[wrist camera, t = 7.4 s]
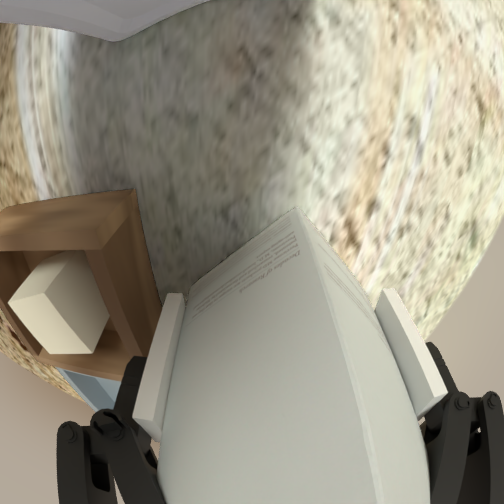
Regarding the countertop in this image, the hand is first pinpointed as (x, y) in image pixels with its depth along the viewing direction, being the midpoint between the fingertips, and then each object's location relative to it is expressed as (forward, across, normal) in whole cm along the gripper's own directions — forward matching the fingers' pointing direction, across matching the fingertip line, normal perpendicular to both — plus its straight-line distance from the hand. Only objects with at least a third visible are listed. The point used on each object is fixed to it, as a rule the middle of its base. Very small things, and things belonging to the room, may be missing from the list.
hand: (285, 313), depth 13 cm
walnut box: (+2, -12, +1) cm, 12 cm away
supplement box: (+2, 0, 0) cm, 2 cm away
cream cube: (+1, -12, +1) cm, 12 cm away
